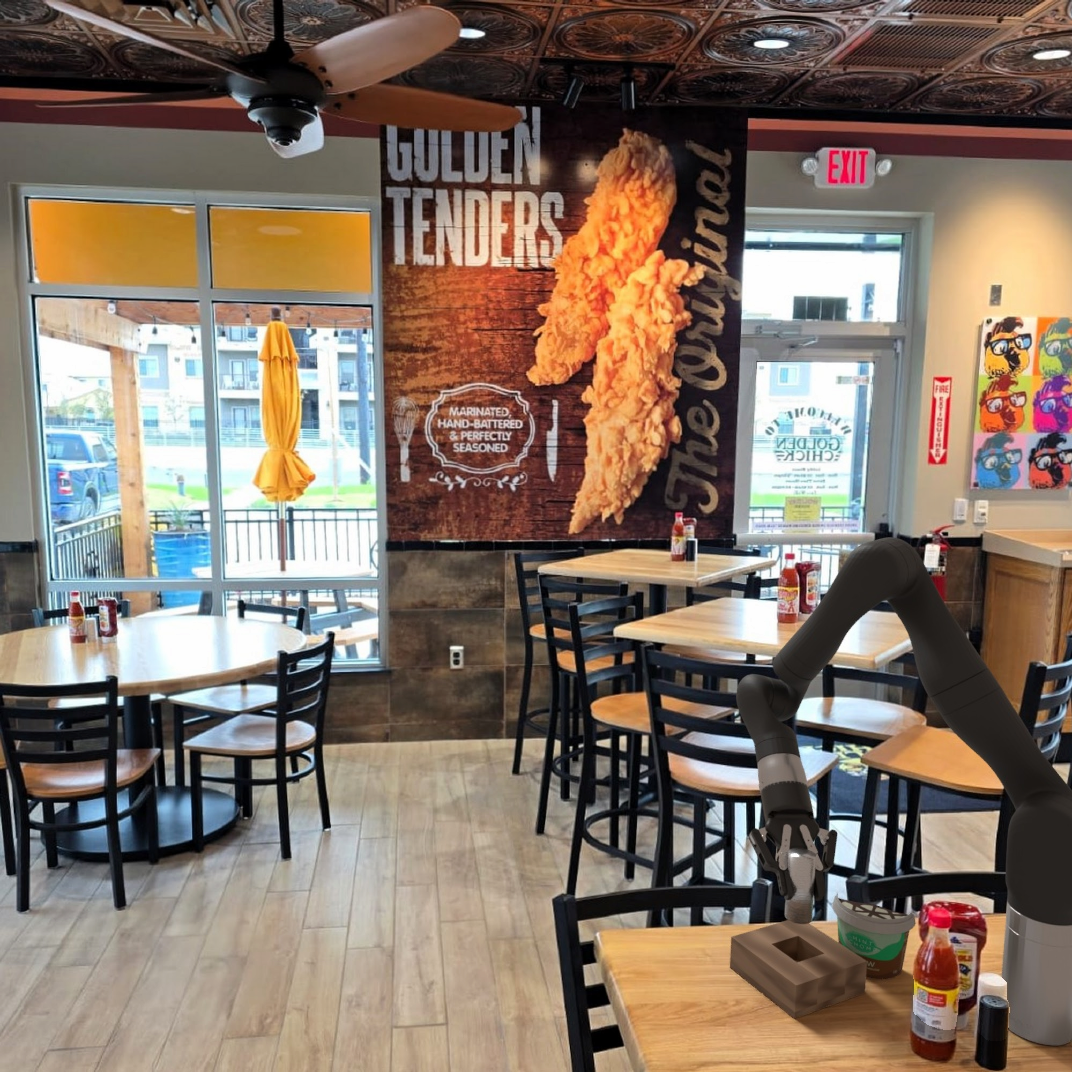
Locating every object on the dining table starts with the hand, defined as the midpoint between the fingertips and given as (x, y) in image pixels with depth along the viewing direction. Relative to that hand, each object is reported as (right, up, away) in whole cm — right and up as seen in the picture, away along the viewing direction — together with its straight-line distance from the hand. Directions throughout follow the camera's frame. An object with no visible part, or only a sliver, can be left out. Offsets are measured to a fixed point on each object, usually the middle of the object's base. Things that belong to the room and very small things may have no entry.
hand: (804, 898), depth 133 cm
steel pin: (0, -4, +2) cm, 5 cm away
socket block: (0, -14, +3) cm, 14 cm away
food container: (+12, -14, +6) cm, 19 cm away
